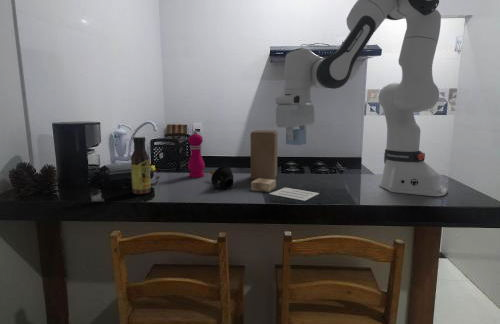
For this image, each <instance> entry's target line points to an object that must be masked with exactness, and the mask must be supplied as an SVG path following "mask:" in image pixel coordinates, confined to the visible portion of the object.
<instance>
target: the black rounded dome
mask: <svg viewBox="0 0 500 324" xmlns="http://www.w3.org/2000/svg"><path fill="white" fill-rule="evenodd" d="M209 173H210V174H211V178H210V179H211V184H212V185H213V187H216V188H219V189H230V188H232V187H233V186H234V174H233V171H232V169H231V168H230V167H229V166H227V165H223V166H220V167H217V168H216V169H215V170H210V172H209Z"/></svg>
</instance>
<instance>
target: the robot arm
mask: <svg viewBox="0 0 500 324" xmlns="http://www.w3.org/2000/svg"><path fill="white" fill-rule="evenodd" d="M439 4H440V0H357V1H356V2H355V3H354V4H353V6H352V8H351V9H350V11H349V13H348V15H347V17H346V26H347V29H348V30H349V33H348V34H347V36H346V38H345V39H344V40H343V42H342V43H341V45H340V46H339V47H338V49H337V50H336V51H335V52H333V53H332V54H330V55H328V56H326V57H322V56H320V55H317V54H315V53H314V52H313V51H311V50H310V48H308V47H299V48H294V49H291V50H290V51H288V52H287V53H286V55H285V58H284V59H285V61H284V67H283V68H284V69H283V70H284V71H283V76H284V77H283V78H284V87H283V92H282V93H281V94H279V95H278V96H276V98H275V104H276V107H275V125H276V126H277V127H278V128H285V132H286V131H287V134H288V140H295V135H294V134H293V130H294V129H295V128H296V127H298V129H306V130H307V126H310V125H314V124H315V123H314V122H315V107H314V104H313V102H312V100H311V88H314V89H319V90H320V89H333V90H334V89H335V90H336V89H339V88H342V87H344V86H345V84H346V83H348V81H349V79H350V77H351V75H352V70H353V67H354V65H355V63H356V61H357V59H358V57H359V56H360V55H361V53H362V52H363V51H364V48H365V47H366V45H367V44H368V43H369V41H370V39H371V38H372V36H373V34H375V32H376V31H377V30H378V28H379V27H380V26H381V25H382V23H383V22H384V21H385V20H386V19H387V20H389V21H390V20H391V21H399V20H402V19H405V20H406V30H405V33H404V36H403V41H402V45H401V48H400V52H399V58H398V65H399V67H401V81H394V82H390V83H388V84H386V85H385V86H383V87H382V88H381V89H380V91H379V94H378V102H379V105H380V106H381V107H382V109H383V112H384V117H385V122H386V131H387V132H386V148H385V149H384V152H383V154H384V156H383V163H384V167H383V172H382V175H381V176H382V177H381V178H380V182H379V185H378V186H379V187H381V188H382V189H385V190H387V191H389V192H391V193H399V194H409V195H417V196H426V197H427V196H428V197H442V196H445V195H446V194H447V192H448V189H447V187H445V186H444V185H443V186H442V185H441V177H440V174H439V173H438V172H437V171H436V170H435V169H434V168H432V167H431V166H430V165H429V164H428V163H426V162H425V159H426V153H425V152H423V151H422V150H420V143H421V142H420V141H421V128H420V125H419V124H418V123H417V122H416V118H415V114H414V113H421V112H425V111H428V110H431V109H432V108H434V107H435V106H436V104H438V101H439V98H440V91H439V87H438V86H437V84H436V83H435V82H434V78H433V64H434V58H435V54H436V51H437V47H438V42H439V37H440V32H441V23H442V15H441V13H440V12H439V10H438V9H437V7H439ZM294 127H295V128H294Z"/></svg>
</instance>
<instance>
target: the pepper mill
mask: <svg viewBox="0 0 500 324" xmlns="http://www.w3.org/2000/svg"><path fill="white" fill-rule="evenodd" d="M203 141H204V139H203V137H202V135H201V134H198V130H193V132H192V134H191V135H189V137H188V144H190V145H189V149H190V158H189V161H188V164H187V168H188V170H189V171H190V172H189V178H193V179H197V178H198V179H199V178H203V177H204V176H205V172H204V169H206V168H205V167H206V166H205V161H204V159H203V156H202V151H201V150H202V143H203Z"/></svg>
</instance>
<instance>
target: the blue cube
mask: <svg viewBox="0 0 500 324" xmlns="http://www.w3.org/2000/svg"><path fill="white" fill-rule="evenodd" d="M293 134H294V135H295V140H288V134H287V131H286V130H285V144H286V145H291V146H302V145H306V144H307V128H306V129H300V128H294V130H293Z"/></svg>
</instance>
